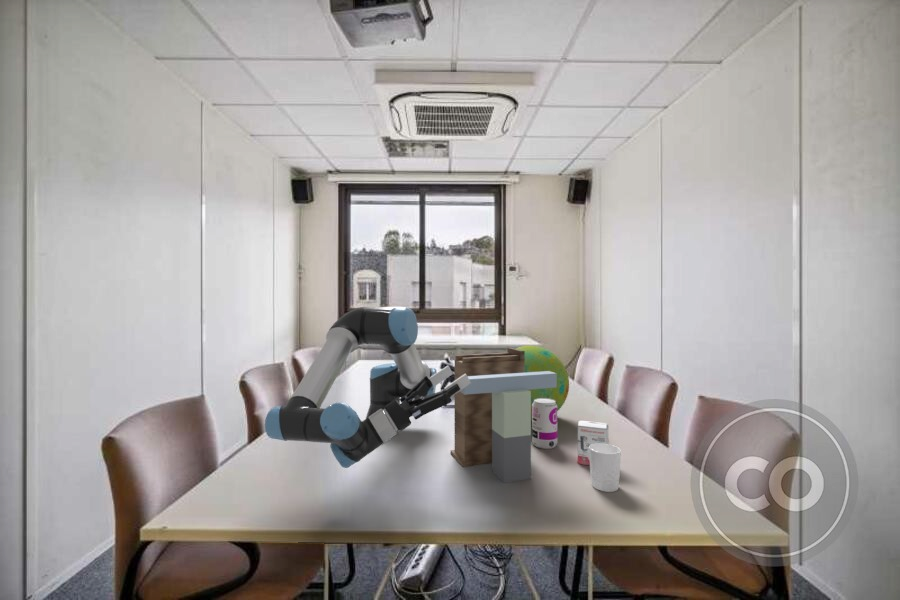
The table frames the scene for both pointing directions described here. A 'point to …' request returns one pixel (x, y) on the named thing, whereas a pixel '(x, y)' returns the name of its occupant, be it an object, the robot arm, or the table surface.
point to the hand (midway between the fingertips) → (458, 373)
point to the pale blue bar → (510, 382)
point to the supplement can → (544, 423)
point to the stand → (479, 404)
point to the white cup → (605, 466)
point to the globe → (546, 361)
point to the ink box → (590, 438)
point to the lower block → (511, 457)
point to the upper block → (511, 413)
